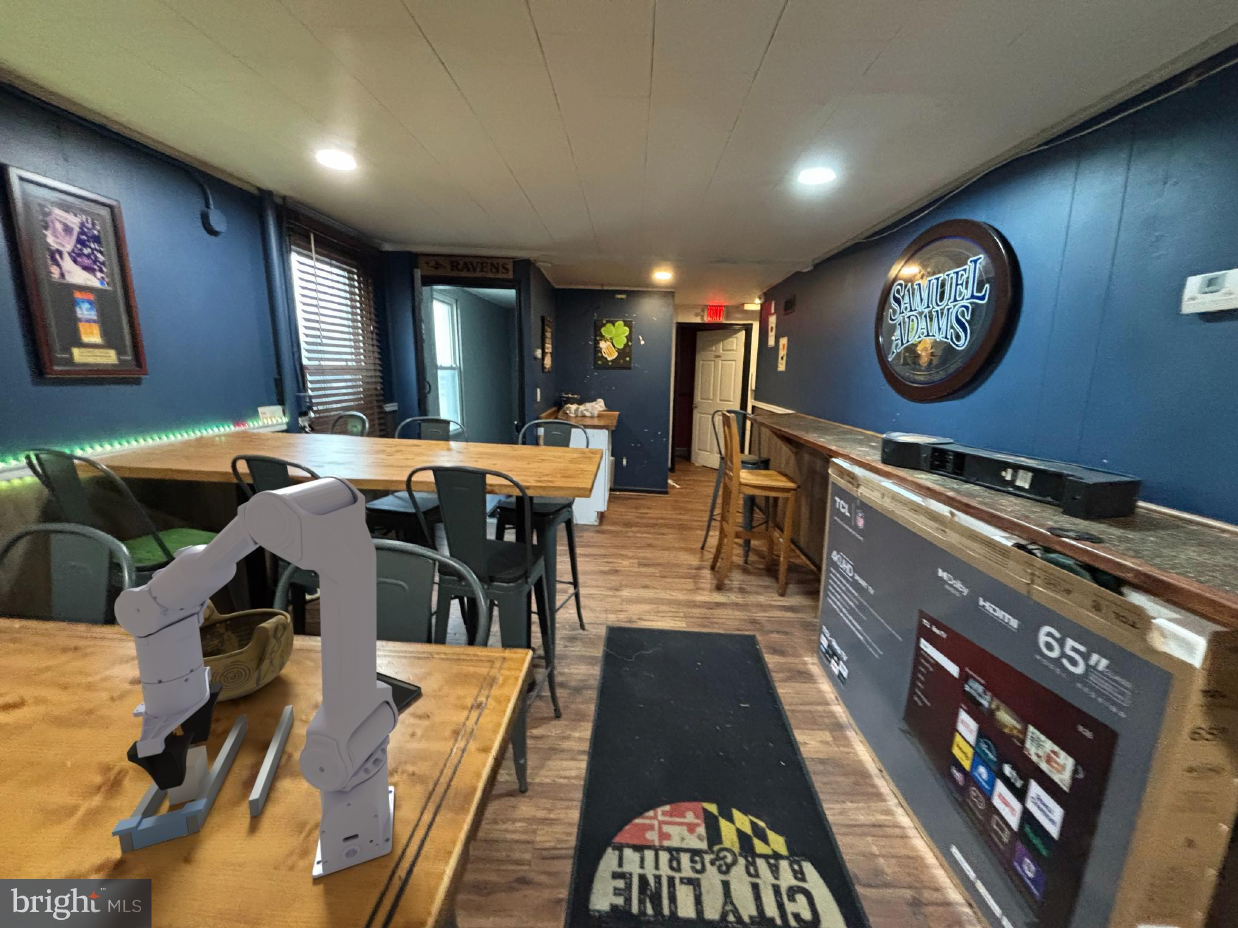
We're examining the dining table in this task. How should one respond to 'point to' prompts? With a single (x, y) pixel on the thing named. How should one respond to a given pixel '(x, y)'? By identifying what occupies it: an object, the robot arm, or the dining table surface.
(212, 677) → the ceramic bowl
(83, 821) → the dining table surface
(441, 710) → the dining table surface
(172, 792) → the cream rectangular box
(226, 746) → the metal rails
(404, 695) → the black tray
